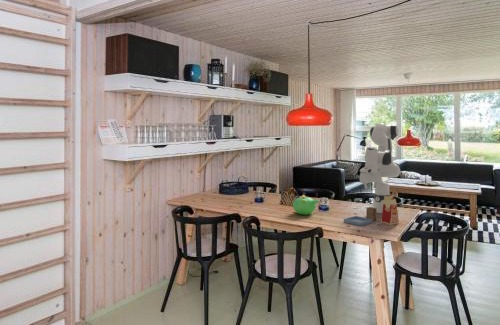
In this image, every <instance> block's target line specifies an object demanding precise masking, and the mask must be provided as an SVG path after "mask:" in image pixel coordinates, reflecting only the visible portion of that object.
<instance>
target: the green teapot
mask: <svg viewBox="0 0 500 325" xmlns="http://www.w3.org/2000/svg"><path fill="white" fill-rule="evenodd" d="M318 203H320V199H313V198H311V197H309V196H306V195H305V194H302V195H301V196H300V197H297V198H296V199H294V200H293V203H292V208H293V210H294V211H295V213H297V214H299V215H310V214H312V213H313V212H314V211H315V210H316V204H318Z"/></svg>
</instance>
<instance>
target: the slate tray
mask: <svg viewBox="0 0 500 325" xmlns="http://www.w3.org/2000/svg"><path fill="white" fill-rule="evenodd" d="M343 223H347V224H350V225H355V226H358V225H359V226H358V227H363V226H366V225H369V224H373V221H372V219H368V218H366V217H364V216H359V215H354V216H353V215H352V216H350V217H345V218H343Z"/></svg>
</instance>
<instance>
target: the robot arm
mask: <svg viewBox="0 0 500 325" xmlns="http://www.w3.org/2000/svg"><path fill="white" fill-rule="evenodd" d="M398 135H399V128H398V126H397V125H396V124H385V123H384V122H378V123H376V124H375V126H372V127H371V128H370V130H369V136H370V138H371V141H372V143H373V144H375V145H377V146H378V147H375V146H369V147H366V149H365V155H364V162H365V164H364V167H362V168H361V169H359V172H360V174H359V182H360V183H361V184H363V187H364V190H368V189H369V186H368V184H369V183H370V184H371V183H373V184H374V185H373V186H372V187H373V189H374V194H373V198H374V199H373V200H372V205H371V207H373V208H377V212H376V214H382V210H383V203H384V198H385V197H384V196H393V194H390V189H391V188H390V184H389V182H387V181H385V180H383V179H382V178H388V179H389V178H390V179H391V178H398V177H399V175H400V174H401V169H400V168H401V167H400V166H399V165H398V164H396V163H395V162H394V160H393V142H392V141H394V140H395V139H396V138H397V136H398ZM397 211H398V212H399V209H398V208H397Z"/></svg>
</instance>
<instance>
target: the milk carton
mask: <svg viewBox="0 0 500 325" xmlns="http://www.w3.org/2000/svg"><path fill="white" fill-rule="evenodd" d="M384 197H385V198H384V203H383V210H382V213H381V223H382V224H386V225H389V226H392V225H396V224H397V225H398V224H400V221H399V210H398V211H397V209H398V205H397V200H396V198H395V197H394V195H393V194H392V196H384Z"/></svg>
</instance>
